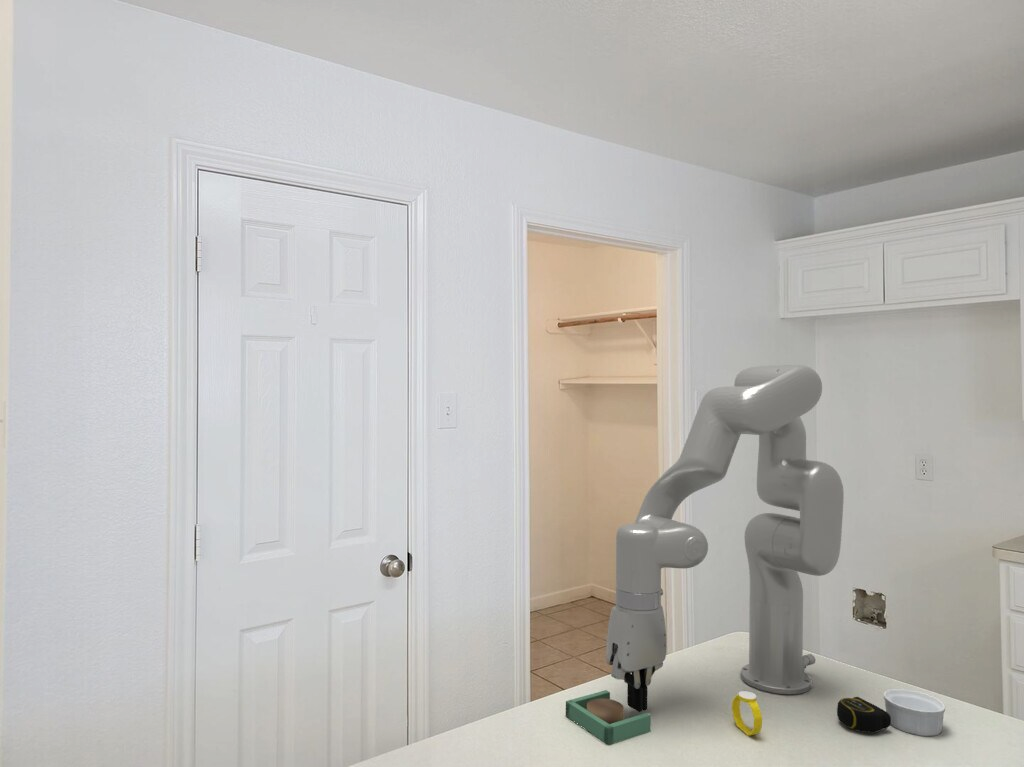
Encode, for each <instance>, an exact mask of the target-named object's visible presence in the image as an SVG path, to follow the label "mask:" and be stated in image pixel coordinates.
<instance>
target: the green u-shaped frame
mask: <svg viewBox="0 0 1024 767" xmlns="http://www.w3.org/2000/svg"><path fill="white" fill-rule="evenodd" d="M600 698H604V699H611V692H610V690H607V689H605V690H601V691H599V692H594V693H590V694H587V695H583V696H581V697H580V696H579V697H576V698H573V699H568V700H565V717H566V716H567V717H566V718H568V717H569V718H570V719H571V720H570V719H569V718H568V719H569V720H570V721H572V720H573V721H575V722H576V723H578V724H579V725H580V726H579V725H578V724H577V725H578V726H579V727H581V726H582V727H584V728H585V729H586V731H587V732H588V731H589V732H588V733H590V732H591V733H592V734H591V733H590V734H591V735H593V736H594V735H595V737H596V738H597V739H599V740H600V741H602V742H603V743H604V744H606V745H608V746H609V745H613V744H615V743H619V742H622V741H624V740H627V739H630V738H634V737H637V736H639V735H643V734H645V733H649V732H651V723H652V722H651V716H652V715H651V714H649V713H647V712H645V713H642V714H638V715H634V716H632V717H628V718H626V719H625V718H624V720H622V721H618V722H615V723H612V724H608V723H606V722H605V721H603V720H602V719H600V718H599V717H597V716H595V715H594V714H592V713H591V712H589V711H587V703H588V702H589V701H591V700H594V699H600ZM573 721H572V722H573ZM575 722H574V723H575ZM576 723H575V724H576ZM582 727H581V728H582ZM584 728H583V729H584ZM585 729H584V730H585Z"/></svg>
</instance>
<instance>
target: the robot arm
mask: <svg viewBox="0 0 1024 767" xmlns="http://www.w3.org/2000/svg"><path fill="white" fill-rule="evenodd" d="M822 394H823V382H822V380H821V377H820V375H819V374H818V373H817V371H816V370H814V369H813V368H812V367H809V366H808V365H801V364H788V365H762V366H761V365H760V366H758V365H757V366H752V367H747V368H745V369H742V370H741V371H739V373H737V375H736V377H735V379H734V386H720V387H714V388H712V389H710V390H709V391H707V392H706V393H705V394H704V396H703V398H702V399H701V401H700V404H699V407H698V410H697V412H696V414H695V417H694V419H693V422H692V425H691V427H690V430H689V432H688V435H687V438H686V440H685V443H684V446H683V448H682V450H681V454H680V456H679V457H678V459H677V461H676V462H675V463H674V464H673V465H672V466H670V467H669V468H668V469H667V470H666V471H665V472H664V473H663V474H662V475H661V476H660V477H659V478H658V479H657V481H655V482H654V483H653V484H652V486H651V487H650V488H649V490H648V491H647V493H646V495H645V496H644V498H643V501H642V503H641V506H640V508H639V510H638V513H637V516H636V519H635V523H627V524H623V525H620V526H619V527H618V529H617V531H616V534H615V535H616V537H615V538H616V539H615V541H616V542H615V543H616V544H615V547H616V549H615V550H616V551H615V556H616V557H615V560H616V561H615V564H616V565H615V605H614V606H612V607H611V610H610V615H609V620H608V627H607V634H606V648H605V649H606V650H605V659H606V663H607V665H610V666H612V667H611V672H610V677H612V678H614V679H615V680H620V681H621V680H622V681H623V682H624V683H625V684H627V704H626V705H627V706H628V707H630V708H631V709H633V710H634V711H636V712H638V713H641V712H643V711H644V712H645V711H647V710H648V693H649V692H648V688H649V687H648V686H650V685H651V682H652V677H653V675H654V674H655V672H656V671H658V670H659V669H661V668H662V667H663V666H664V661H665V660H666V657H667V631H666V630H667V629H666V620H665V614H664V608H663V605H661V604H662V603H661V602H662V600H661V599H662V596H663V595H664V591H663V589H662V569H664V568H665V569H666V568H667V569H669V568H671V569H690V568H693V567H696V566H698V565H700V564H701V563H702V562H703V561H704V560H705V558H706V557H707V555H708V552H709V543H708V540H707V537H706V536H705V534H704V533H703V532H702V530H700V529H699V528H697V527H696V526H695V525H694V526H693V525H691V524H688V523H685V522H680V521H677V520H673V518H674V515H675V513H676V511H677V509H678V507H679V506H680V505H681V504H682V503H683V501H684V500H686V498H688V497H689V496H690V495H692V494H694V493H695V492H698V491H700V490H702V489H705V488H707V487H709V486H710V487H711V486H712V485H714V484H716V483H719V482H720V481H722V480H723V479H725V477H726V475H727V473H728V470H729V468H730V465H731V461H732V458H733V456H734V454H735V450H736V448H737V446H738V445H737V444H738V442H739V440H740V437H741V435H754V436H758V454H757V470H756V491H757V495H758V498H759V499H760V500H761V501H762V502H763V503H766V504H767V505H770V506H773V507H777V508H781V509H788V510H792V511H793V510H794V511H797V512H799V517H795V516H791V515H785V514H780V513H774V512H771V513H770V512H769V513H766V512H764V513H760V514H758V515H755V516H753V517H752V518H751V519H750V520H749V522H748V523H747V525H746V527H745V531H744V548H745V553H746V556H747V563H748V570H749V572H748V573H749V618H748V620H749V628H748V629H749V633H748V635H749V637H748V638H749V639H748V641H749V642H748V644H749V645H748V648H749V649H748V651H749V653H748V663H747V664H745V665H743V666H742V667H741V668H740V678H741V679H742V681H743V682H744V683H746V684H747V685H749V686H751V687H753V688H755V689H758V690H761V691H763V692H764V691H765V692H767V693H772V694H773V693H774V694H778V695H780V694H781V695H798V694H799V695H800V694H803V693H806V692H808V691H809V690H811V689H812V679H811V677H810V676H809V674H807V673H805V669H806V668H807V667H809V666H811V665H814V664H815V663H816V657H815V656H814V655H813V653H807V654H803V650H804V649H803V648H804V647H803V646H804V643H803V639H804V636H803V635H804V633H803V632H804V630H803V629H804V621H803V620H804V591H803V583H802V580H801V578H800V575H799V573H803V574H806V575H808V576H809V575H810V576H815V577H817V576H818V577H821V576H826V575H829V573H831V572H832V571H833V570H835V567H836V565H837V564H838V561H839V558H840V554H841V553H840V552H841V545H842V532H843V531H842V530H843V512H844V498H845V497H844V485H843V483H842V478H841V476H840V474H839V473H838V471H837V470H836V469H835V468H834V467H833V466H832V465H830V464H828V463H826V462H823V461H817V460H809V459H808V460H807V432H806V427H805V424H804V422H803V420H802V418H801V417H802V416H803V415H806V413H809V412H810V411H812V409H813V408H815V407H816V406H817V404H818V403H819V401H820V399H821V397H822Z"/></svg>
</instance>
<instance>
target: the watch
mask: <svg viewBox="0 0 1024 767" xmlns="http://www.w3.org/2000/svg"><path fill="white" fill-rule="evenodd" d="M757 699H758V698H757V695H756V694H755V693H753V692H752V691H746V690H741V691H739V692H738V694H736V695H735V696H734V697H733V699H732V703H731V712H732V717H733V720H734V724H735V725H736V728H738V729H739V730H741V731H742V732H743V733H744V734H745V735H747V736H748V737H749V736H750V737H751V736H756V735H758V734H760V732H761V730H762V727H763V718H762V717H763V716H762V713H761V712H762V711H761V708H760V705H759V704H758V703H757ZM741 702H743V703H747V704H748V705H749V708H750V710H751V712H752V717H753V728H752V729H751V728H750V727H748V725H747V724H745V722H744V720H743V718H742V713H741V709H740V707H741Z"/></svg>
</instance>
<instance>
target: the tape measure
mask: <svg viewBox="0 0 1024 767" xmlns="http://www.w3.org/2000/svg"><path fill="white" fill-rule="evenodd" d="M836 707H837V708H836V715H837V718H838V721H839V722H840V723H841V724H842V725H844V726H846V727H847V728H849V729H851V730H854V731H855V730H856V731H857V732H862V733H870V734H871V733H877V732H880V731H883V730H886V729H888V728H889V727H890V726H892V725H891V717H890V715H889V714H888V713H887V712H886V710H884V709H882V708H880V707H879V706H877V705H875V704H873V703H872V702H869V701H867V700H866V699H863V698H861V697H859V696H853V697H843V698H841V699H840V700H839V701H838V702H837V706H836Z"/></svg>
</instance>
